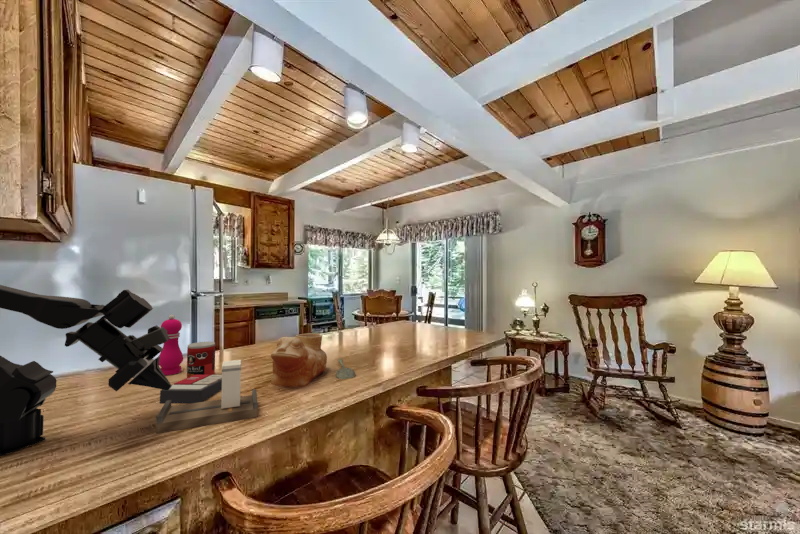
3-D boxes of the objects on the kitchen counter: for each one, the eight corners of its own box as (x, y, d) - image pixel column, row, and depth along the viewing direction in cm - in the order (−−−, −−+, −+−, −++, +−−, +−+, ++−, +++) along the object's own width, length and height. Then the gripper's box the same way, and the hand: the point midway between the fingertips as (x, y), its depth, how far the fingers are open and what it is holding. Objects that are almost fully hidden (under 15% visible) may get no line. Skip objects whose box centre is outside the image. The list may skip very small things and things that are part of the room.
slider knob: (221, 408, 78) (221, 366, 79) (222, 401, 83) (223, 361, 83) (240, 406, 80) (240, 364, 80) (240, 398, 85) (241, 359, 85)
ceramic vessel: (256, 390, 98) (257, 339, 98) (298, 365, 124) (299, 325, 124) (299, 393, 95) (300, 341, 96) (333, 368, 121) (334, 327, 122)
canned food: (180, 379, 106) (181, 345, 106) (202, 372, 114) (203, 340, 114) (199, 382, 104) (200, 347, 104) (220, 374, 112) (220, 342, 112)
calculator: (230, 373, 103) (201, 387, 88) (229, 387, 102) (200, 404, 87) (194, 373, 103) (159, 387, 88) (193, 387, 102) (158, 404, 87)
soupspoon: (336, 383, 108) (356, 382, 109) (336, 373, 108) (356, 372, 109) (332, 363, 129) (348, 362, 131) (332, 354, 129) (349, 354, 131)
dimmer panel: (156, 433, 71) (156, 416, 71) (166, 415, 80) (166, 400, 80) (257, 416, 79) (257, 402, 80) (256, 402, 88) (256, 388, 89)
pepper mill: (169, 376, 109) (171, 316, 110) (151, 375, 111) (153, 315, 111) (188, 370, 116) (189, 313, 117) (170, 369, 118) (172, 313, 118)
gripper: (131, 321, 66) (193, 371, 70) (154, 311, 83) (203, 352, 87) (77, 365, 62) (147, 414, 67) (113, 345, 79) (166, 386, 84)
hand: (169, 388), depth 76 cm, fingers closed
